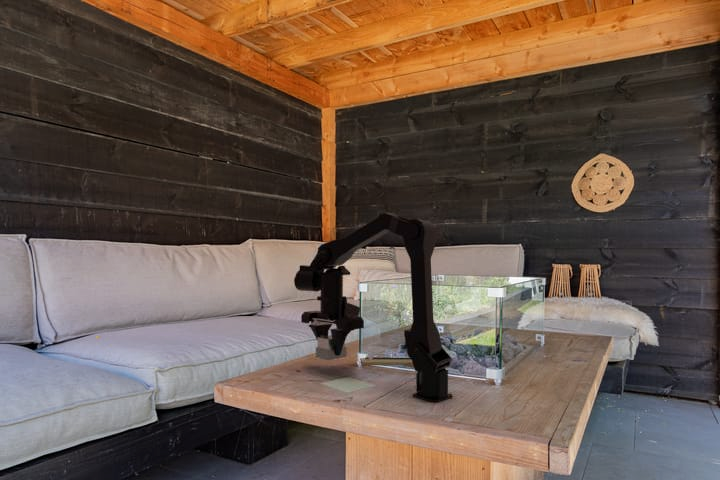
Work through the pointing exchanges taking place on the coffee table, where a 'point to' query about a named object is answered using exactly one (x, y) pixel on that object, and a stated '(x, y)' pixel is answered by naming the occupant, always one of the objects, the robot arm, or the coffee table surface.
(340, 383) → the stand
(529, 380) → the coffee table surface
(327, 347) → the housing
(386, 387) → the coffee table surface
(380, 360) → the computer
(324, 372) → the stand
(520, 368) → the coffee table surface
